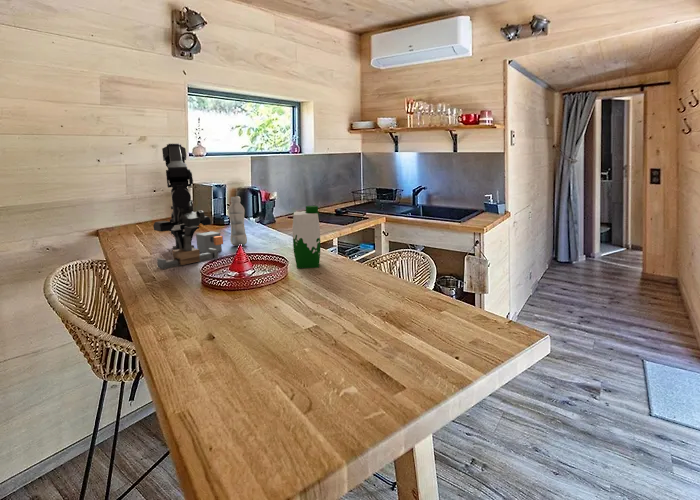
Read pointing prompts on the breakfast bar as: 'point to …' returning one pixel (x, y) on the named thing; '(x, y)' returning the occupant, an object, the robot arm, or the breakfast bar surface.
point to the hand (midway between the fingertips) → (185, 247)
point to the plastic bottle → (237, 222)
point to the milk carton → (306, 238)
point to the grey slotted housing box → (207, 241)
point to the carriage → (186, 252)
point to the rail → (176, 262)
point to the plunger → (217, 240)
